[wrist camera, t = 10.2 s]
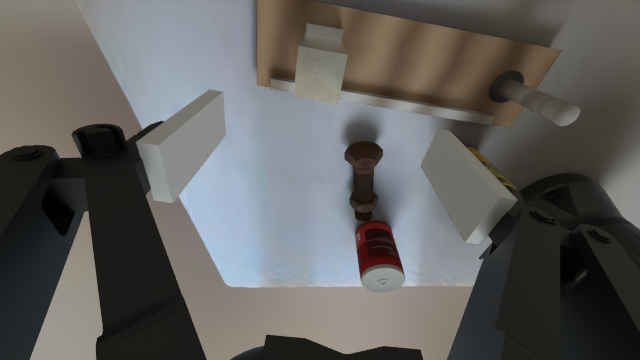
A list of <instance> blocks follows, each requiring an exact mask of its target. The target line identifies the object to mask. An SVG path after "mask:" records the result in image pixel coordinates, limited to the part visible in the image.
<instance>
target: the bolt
mask: <svg viewBox="0 0 640 360" xmlns="http://www.w3.org/2000/svg"><path fill="white" fill-rule="evenodd" d="M382 156H383V150H382V148H381V147H380V146H379V145H377V144H376V143H372V142H366V141H365V142H357V143H354V144H352V145H350V146H349V147H348V148H347V150H346V151H345V160H346V161H348V162H349V163H350V164H352V165H353V169H354V192H353V193H352V195H351V197H350V199H349V200H350V205H351V206H352V207H353V208H354V209H355V218H356V219H357V220H359V221H364V222H369V221H370V220H371V219H372V210H373V209H374V208H375V206H376V204H377V202H378V196H377V195H376V194H375V193H374V192H373V175H374V166H376V165H377V164H378V162H379V161H380V159H381V158H382Z"/></svg>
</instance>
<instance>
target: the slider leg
mask: <svg viewBox="0 0 640 360" xmlns="http://www.w3.org/2000/svg"><path fill="white" fill-rule="evenodd" d="M343 31H344V30H343V28H338V27H332V26H327V25H322V24H317V23H311V22H307V25H306V34H305V36H304V37H303V39H302V40H301V42H300V44H299V45H298V54H297V64H296V75H295V85H294V97H300V98H306V99H312V100H319V101H325V102H331V103H337V104H338V101H339V96H340V91H341V86H342V81H343V76H344V71H345V67H346V62H347V57H348V54H347V52H346V49H345V47H344V45H343V43H342V36H343Z"/></svg>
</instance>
